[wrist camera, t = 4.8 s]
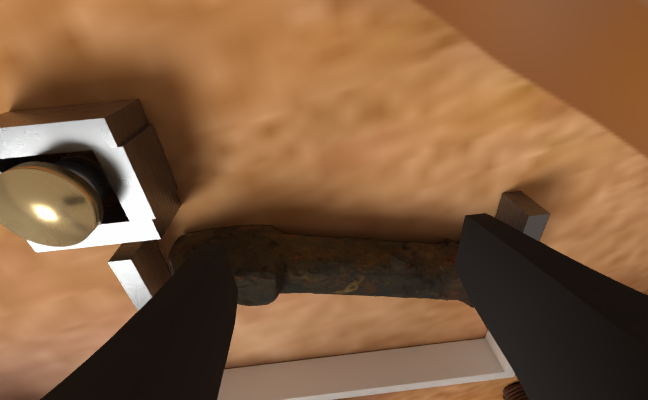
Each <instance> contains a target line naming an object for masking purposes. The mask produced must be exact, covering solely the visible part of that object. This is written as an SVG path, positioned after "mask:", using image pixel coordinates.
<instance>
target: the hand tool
mask: <svg viewBox="0 0 648 400" xmlns="http://www.w3.org/2000/svg"><path fill="white" fill-rule="evenodd" d="M215 242H223V245H224V248H225V251H226V254H227V257H228V260H229V263H230V266H231V269H232V272H233V275H234V278H235V281H236V284H237V287H238V299H237V304H240V305H245V306H258V305H267V304H269V303H271V302H273V301H274V300H275V299H276V298H277V296H278V295H279V293H314V294H338V295H362V296H387V297H399V298H400V297H401V298H430V299H443V300H446V301H447V300H459V301H462V302H464V303H466V304H467V305H469V306H471V307H473V308H474V306H473V304H472V302H471V301H470V299H469V297H468V295H467V293H466V291H465V289H464V287H463V285H462V282H461V280H460V278H459V275H458V273H457V271H456V268H455V261H456V256H457V252H458V247H459V244H457V243H455V242H453V241H452V240H449V239H445V240H444V241H443V242H442V243H440V244H436V243H421V242H392V241H380V240H377V239H375V238H372V237H371V238H368V239H357V238H356V239H354V238H348V237H344V238H335V237H321V236H307V235H287V234H284V233H282V232H279V231H278V230H277V229H276V228H275V227H273V226H271V225H242V226H234V227H225V228H217V229H211V230H204V231H199V232H194V233H189V234H184V235H181V236H180V237H178V239H177V240H176V242H175V243H174V245H173V247H172V249H171V251H170V253H169V257H168V262H169V265H170V269H171V276H172V275H173V274H174V273H175V272H176V271H177V270H178V269H179V268H180V266H181V265H182V264H183V263H184V262H185V261H186V260H187V259H188V258H189V257H190V255H191V254H192V253H193V252H194V251H195V250H196V249H197V248H198V247H199V246H200V245H201V244H206V243H215Z"/></svg>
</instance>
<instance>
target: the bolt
mask: <svg viewBox="0 0 648 400" xmlns="http://www.w3.org/2000/svg"><path fill="white" fill-rule="evenodd" d="M503 393H504V394H503V399H504V400H529V399H528V397H527V395H526V393H525V391H524V389H523V387H522V385H521V383H518V384H514V385H511V386H508V387H506V388H505V389H504V391H503Z"/></svg>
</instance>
